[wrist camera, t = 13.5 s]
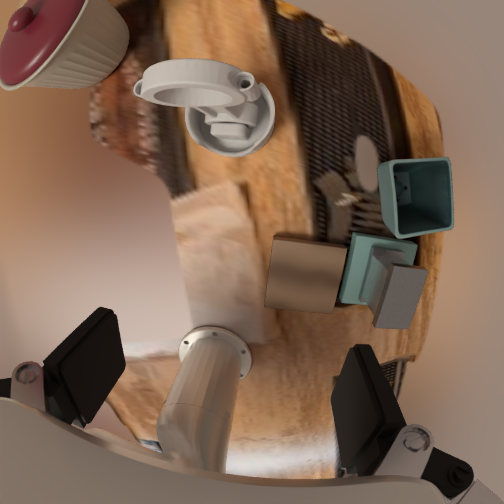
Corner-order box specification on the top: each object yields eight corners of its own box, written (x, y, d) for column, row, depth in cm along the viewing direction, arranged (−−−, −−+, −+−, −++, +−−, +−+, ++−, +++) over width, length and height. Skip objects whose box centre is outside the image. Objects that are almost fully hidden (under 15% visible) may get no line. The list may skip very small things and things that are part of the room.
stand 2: (395, 301, 39) (399, 307, 37) (338, 296, 39) (341, 302, 37) (411, 241, 36) (417, 245, 34) (352, 232, 36) (357, 235, 34)
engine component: (270, 160, 34) (277, 89, 31) (268, 150, 15) (281, 9, 12) (190, 155, 35) (197, 86, 32) (104, 147, 15) (126, 21, 12)
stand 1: (329, 307, 40) (331, 314, 38) (264, 300, 40) (264, 307, 38) (343, 244, 37) (347, 248, 35) (273, 235, 37) (273, 239, 35)
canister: (56, 113, 33) (-37, 107, 13) (71, 30, 28) (-2, -1, 8) (140, 91, 32) (41, 50, 12) (155, 1, 27) (92, -65, 7)
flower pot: (370, 223, 36) (396, 240, 27) (362, 160, 33) (388, 160, 25) (421, 215, 35) (454, 229, 26) (415, 156, 32) (450, 156, 23)
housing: (371, 245, 34) (394, 265, 27) (401, 250, 34) (428, 270, 27) (357, 298, 37) (374, 328, 29) (387, 300, 37) (408, 329, 29)
